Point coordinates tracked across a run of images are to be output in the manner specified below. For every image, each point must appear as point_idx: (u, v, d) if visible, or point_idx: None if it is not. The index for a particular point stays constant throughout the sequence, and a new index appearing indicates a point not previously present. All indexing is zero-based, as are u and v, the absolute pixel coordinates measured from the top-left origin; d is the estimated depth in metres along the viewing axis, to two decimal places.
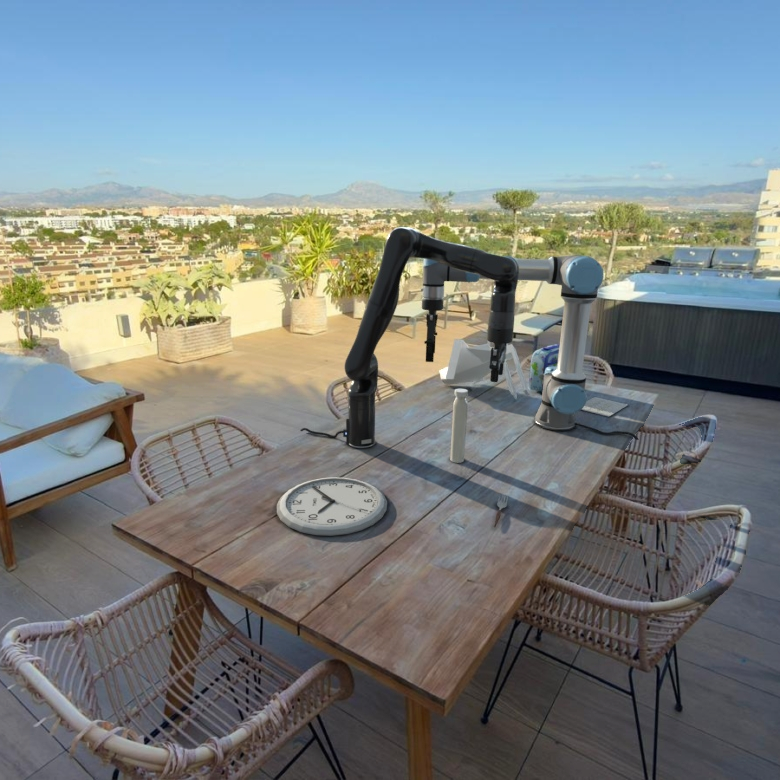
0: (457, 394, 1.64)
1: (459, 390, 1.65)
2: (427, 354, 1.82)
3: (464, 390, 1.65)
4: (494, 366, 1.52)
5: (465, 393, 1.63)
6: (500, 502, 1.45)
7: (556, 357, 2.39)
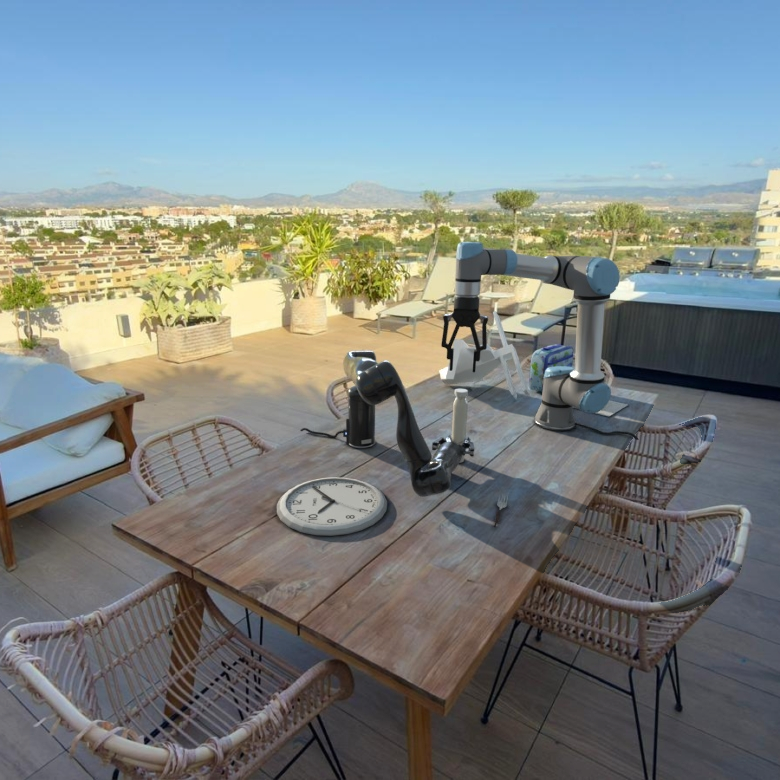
0: (457, 394, 1.64)
1: (459, 390, 1.65)
2: None
3: (464, 390, 1.65)
4: None
5: (465, 393, 1.63)
6: (500, 502, 1.45)
7: (556, 357, 2.39)
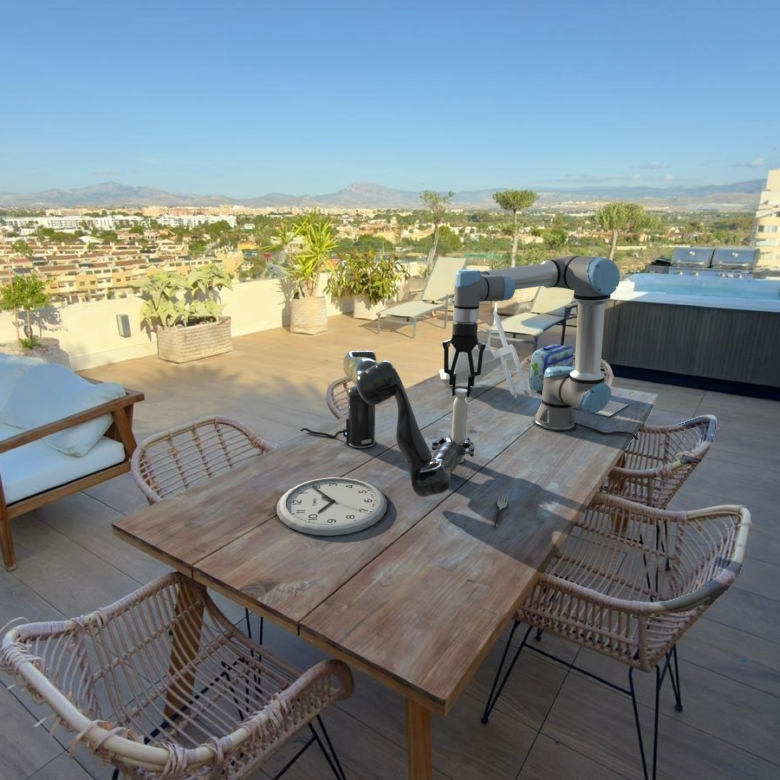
0: (457, 394, 1.64)
1: (459, 390, 1.65)
2: None
3: (464, 390, 1.65)
4: None
5: (465, 393, 1.63)
6: (500, 502, 1.45)
7: (556, 357, 2.39)
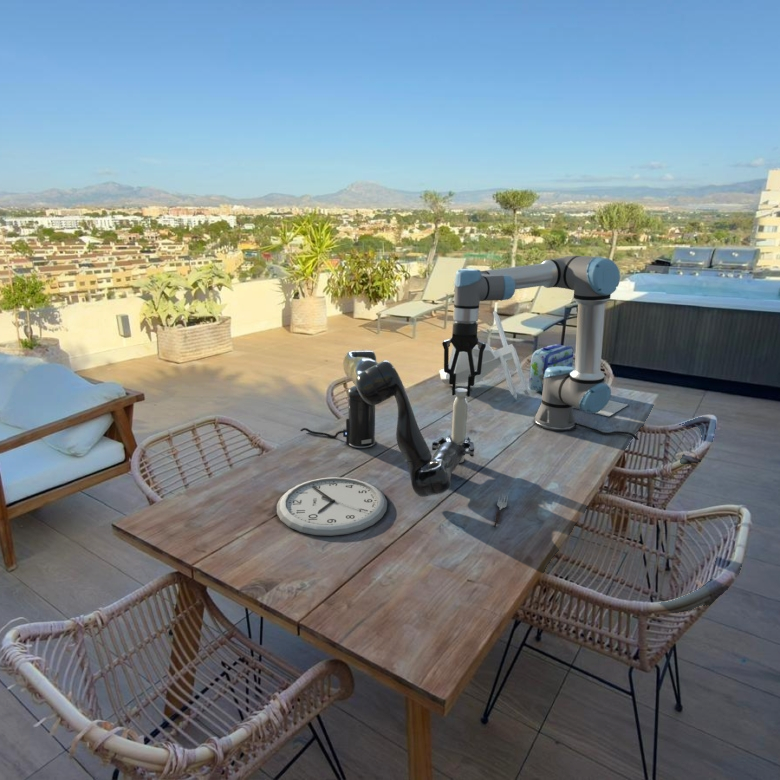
0: None
1: (462, 390, 1.64)
2: None
3: (459, 389, 1.66)
4: None
5: None
6: (500, 502, 1.45)
7: (556, 357, 2.39)
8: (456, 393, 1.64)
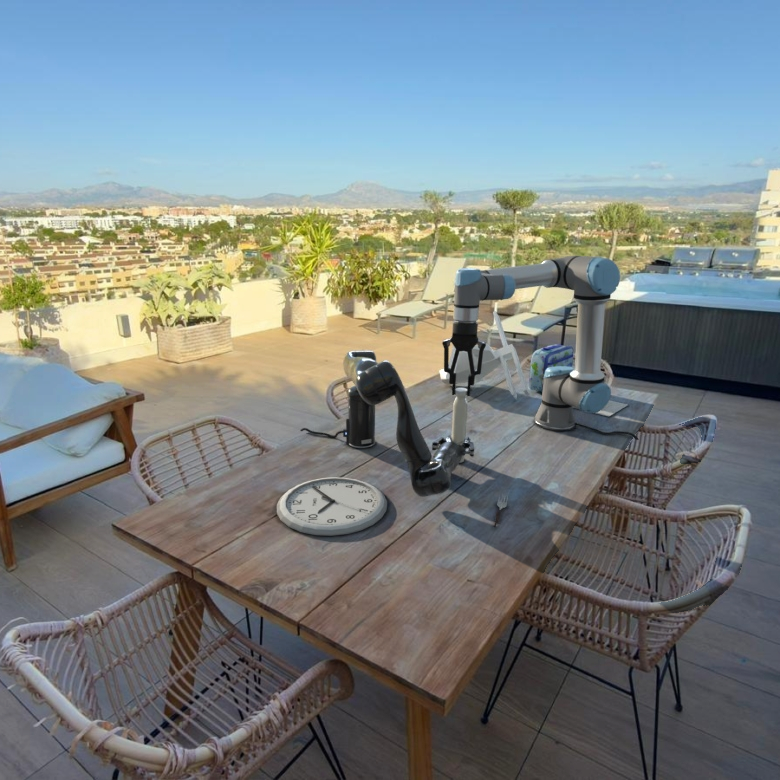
0: None
1: (461, 389, 1.65)
2: None
3: (460, 390, 1.64)
4: None
5: (455, 391, 1.65)
6: (500, 502, 1.45)
7: (556, 357, 2.39)
8: None
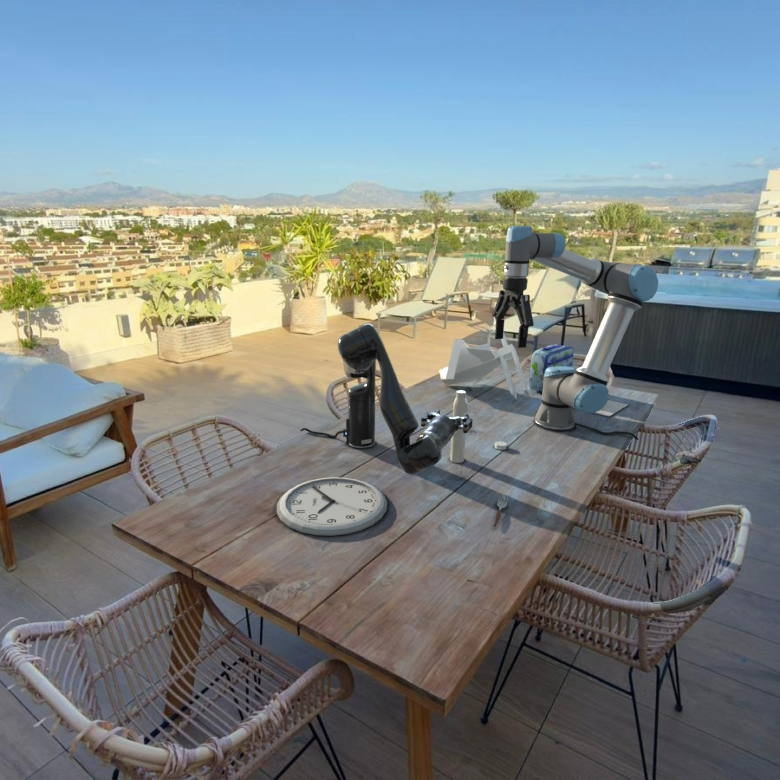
0: (506, 445, 1.82)
1: (502, 444, 1.82)
2: (521, 339, 1.64)
3: (498, 442, 1.83)
4: None
5: None
6: (500, 502, 1.45)
7: (556, 357, 2.39)
8: (497, 447, 1.81)
